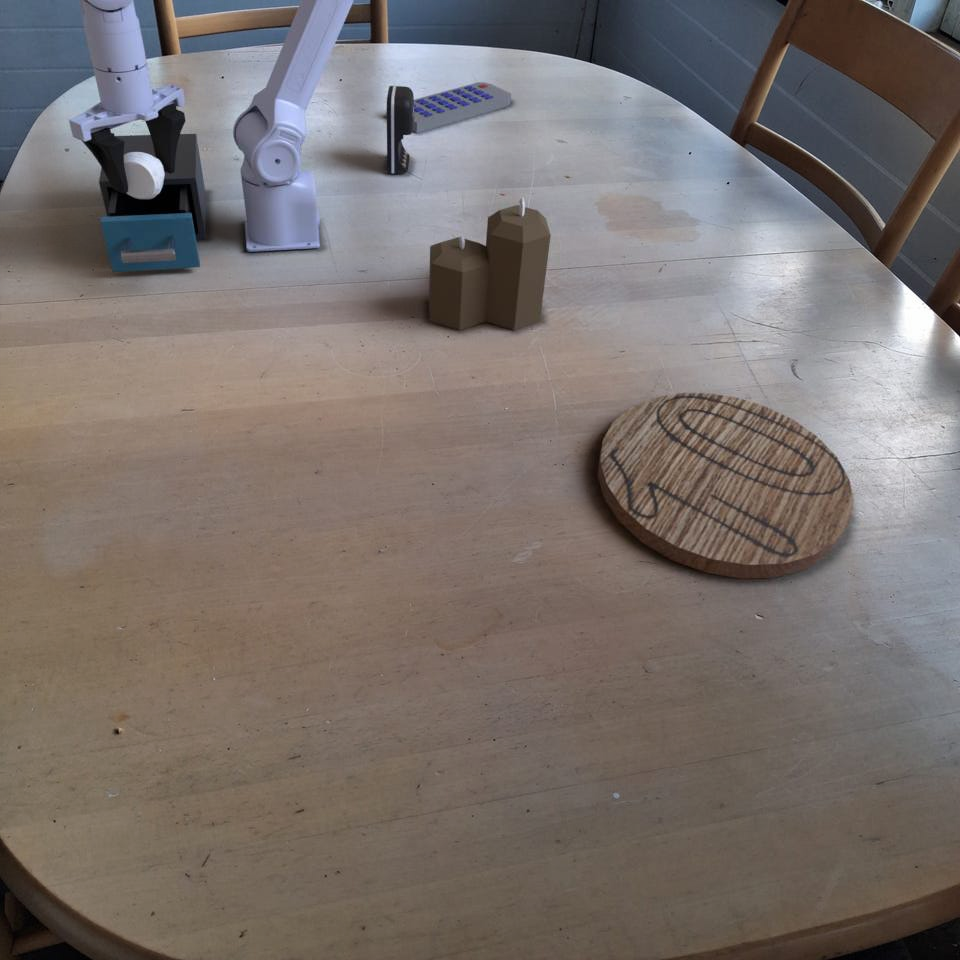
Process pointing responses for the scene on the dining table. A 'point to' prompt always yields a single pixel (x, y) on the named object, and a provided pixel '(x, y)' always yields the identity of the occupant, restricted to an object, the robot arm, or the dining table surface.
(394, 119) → the battery charger
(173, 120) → the robot arm
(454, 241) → the candle
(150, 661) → the dining table surface
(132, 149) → the cabinet
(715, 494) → the trivet
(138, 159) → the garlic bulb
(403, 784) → the dining table surface
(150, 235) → the drawer
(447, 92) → the remote control
